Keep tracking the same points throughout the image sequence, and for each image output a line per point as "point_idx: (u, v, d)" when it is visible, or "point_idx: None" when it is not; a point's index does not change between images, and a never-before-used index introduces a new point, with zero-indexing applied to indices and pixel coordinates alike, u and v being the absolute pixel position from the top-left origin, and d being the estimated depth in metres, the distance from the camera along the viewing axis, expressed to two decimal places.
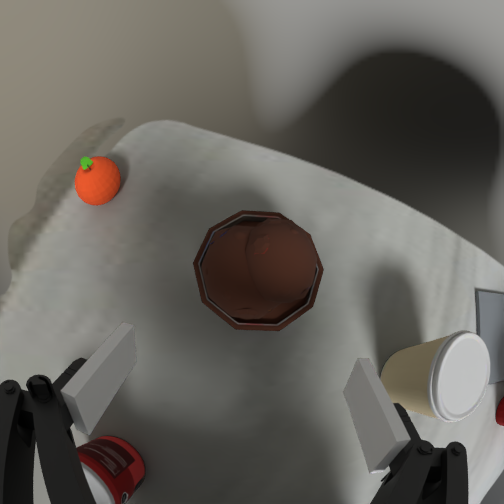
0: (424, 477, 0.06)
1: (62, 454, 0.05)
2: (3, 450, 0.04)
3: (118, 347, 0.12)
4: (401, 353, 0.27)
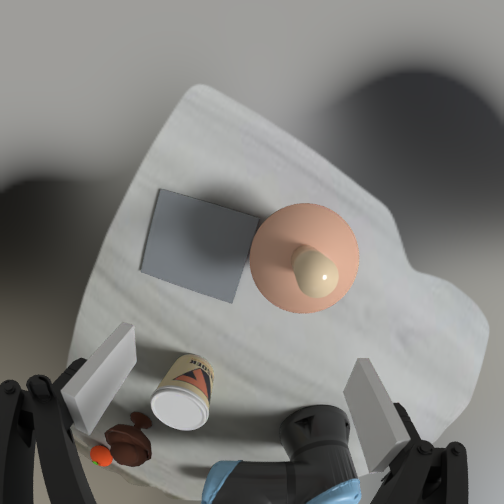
0: (424, 477, 0.06)
1: (62, 454, 0.05)
2: (3, 450, 0.04)
3: (118, 347, 0.12)
4: None
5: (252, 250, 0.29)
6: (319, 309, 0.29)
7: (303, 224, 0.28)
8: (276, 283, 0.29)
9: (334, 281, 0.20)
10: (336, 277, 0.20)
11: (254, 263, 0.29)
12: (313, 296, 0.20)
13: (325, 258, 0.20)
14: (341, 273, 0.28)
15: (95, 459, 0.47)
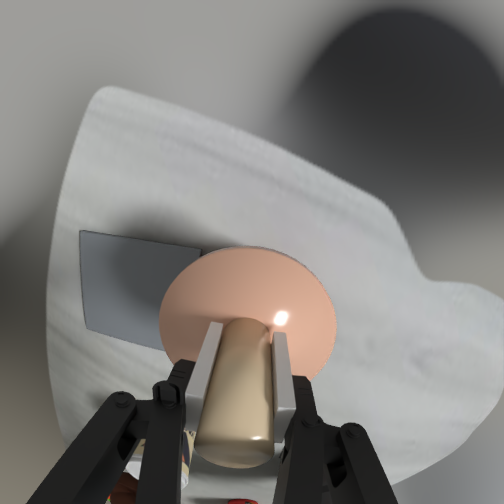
0: (321, 451, 0.08)
1: (170, 462, 0.06)
2: (91, 462, 0.05)
3: (217, 344, 0.14)
4: None
5: (163, 333, 0.17)
6: None
7: (230, 287, 0.16)
8: None
9: (267, 452, 0.08)
10: (269, 449, 0.08)
11: (171, 349, 0.18)
12: (234, 466, 0.09)
13: (240, 429, 0.08)
14: (308, 347, 0.17)
15: (108, 497, 0.41)
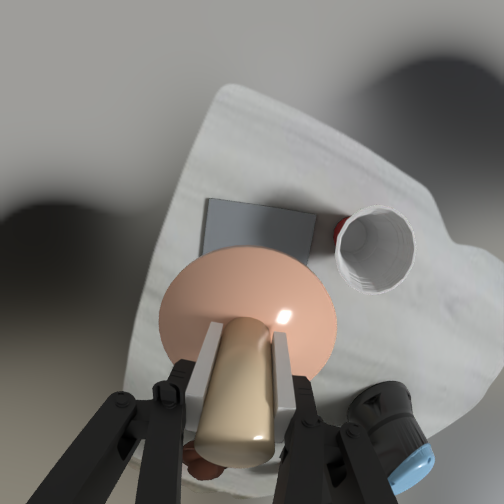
0: (321, 451, 0.08)
1: (170, 462, 0.06)
2: (91, 463, 0.05)
3: (217, 345, 0.14)
4: None
5: (163, 333, 0.17)
6: None
7: (230, 286, 0.16)
8: None
9: (267, 452, 0.08)
10: (270, 449, 0.08)
11: (171, 349, 0.18)
12: (235, 466, 0.09)
13: (240, 429, 0.08)
14: (309, 347, 0.17)
15: None
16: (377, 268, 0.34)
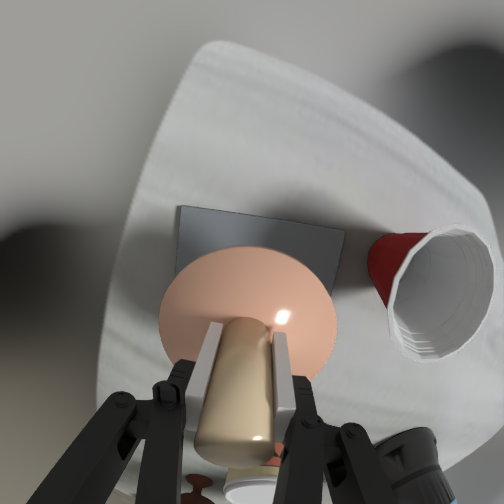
0: (321, 451, 0.08)
1: (170, 462, 0.06)
2: (91, 462, 0.05)
3: (217, 345, 0.14)
4: None
5: (163, 333, 0.17)
6: None
7: (230, 286, 0.16)
8: None
9: (267, 453, 0.08)
10: (270, 449, 0.08)
11: (171, 349, 0.18)
12: (235, 467, 0.09)
13: (240, 429, 0.08)
14: (309, 347, 0.17)
15: None
16: (432, 313, 0.20)
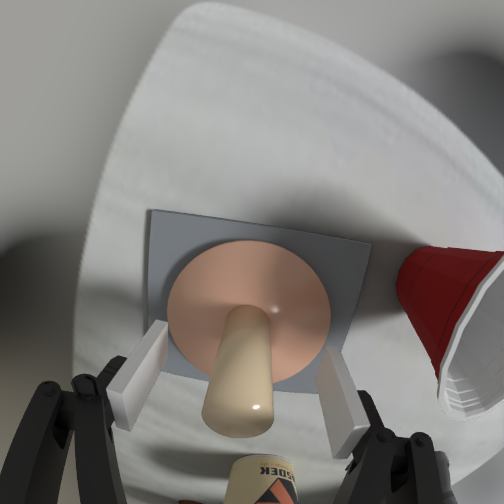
0: (389, 465, 0.07)
1: (101, 454, 0.06)
2: (33, 451, 0.04)
3: (155, 343, 0.13)
4: None
5: (171, 320, 0.19)
6: (281, 379, 0.20)
7: (233, 276, 0.18)
8: (214, 356, 0.20)
9: (267, 420, 0.10)
10: (269, 416, 0.10)
11: (178, 336, 0.20)
12: (238, 436, 0.11)
13: (243, 396, 0.10)
14: (305, 333, 0.19)
15: None
16: (475, 350, 0.13)
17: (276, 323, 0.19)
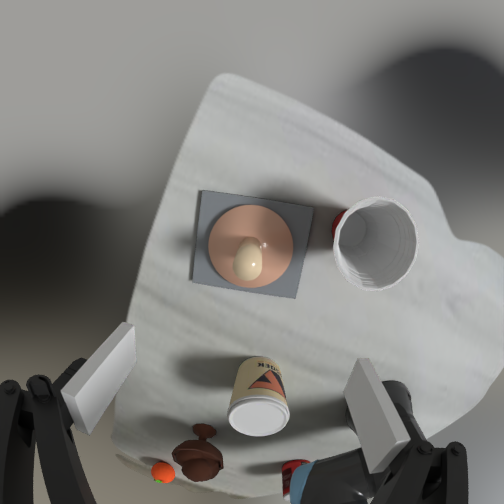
0: (424, 477, 0.06)
1: (62, 454, 0.05)
2: (3, 449, 0.04)
3: (118, 347, 0.12)
4: None
5: (210, 247, 0.39)
6: (268, 282, 0.40)
7: (244, 221, 0.38)
8: (232, 268, 0.39)
9: (259, 267, 0.30)
10: (260, 265, 0.30)
11: (213, 256, 0.39)
12: (247, 279, 0.30)
13: (249, 253, 0.29)
14: (280, 253, 0.38)
15: (158, 477, 0.50)
16: (377, 263, 0.33)
17: (265, 247, 0.38)
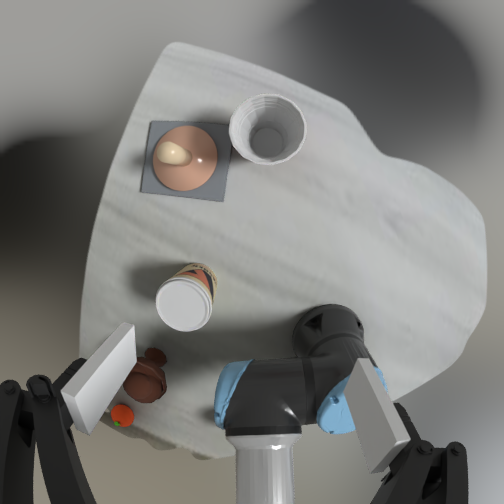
0: (424, 477, 0.06)
1: (62, 454, 0.05)
2: (3, 450, 0.04)
3: (118, 347, 0.12)
4: None
5: (154, 160, 0.45)
6: (198, 185, 0.46)
7: (179, 138, 0.44)
8: (169, 175, 0.46)
9: (175, 151, 0.36)
10: (175, 149, 0.36)
11: (156, 167, 0.46)
12: (166, 161, 0.37)
13: (168, 142, 0.36)
14: (206, 160, 0.45)
15: (116, 418, 0.56)
16: (281, 155, 0.39)
17: (194, 156, 0.45)
